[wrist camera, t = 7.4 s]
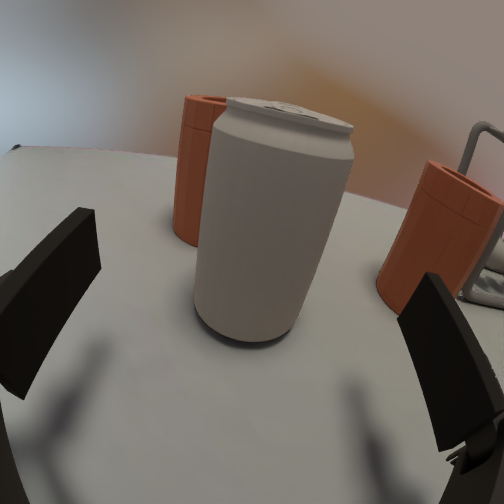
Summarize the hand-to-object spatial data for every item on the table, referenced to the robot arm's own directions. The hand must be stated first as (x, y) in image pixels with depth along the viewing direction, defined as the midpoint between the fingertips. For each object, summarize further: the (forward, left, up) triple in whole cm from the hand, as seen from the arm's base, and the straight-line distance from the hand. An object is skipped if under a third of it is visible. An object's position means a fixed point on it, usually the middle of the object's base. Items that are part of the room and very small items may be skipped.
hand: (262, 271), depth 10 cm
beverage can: (+3, -3, -7) cm, 8 cm away
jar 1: (+12, -7, -7) cm, 16 cm away
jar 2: (-4, -16, -7) cm, 18 cm away
